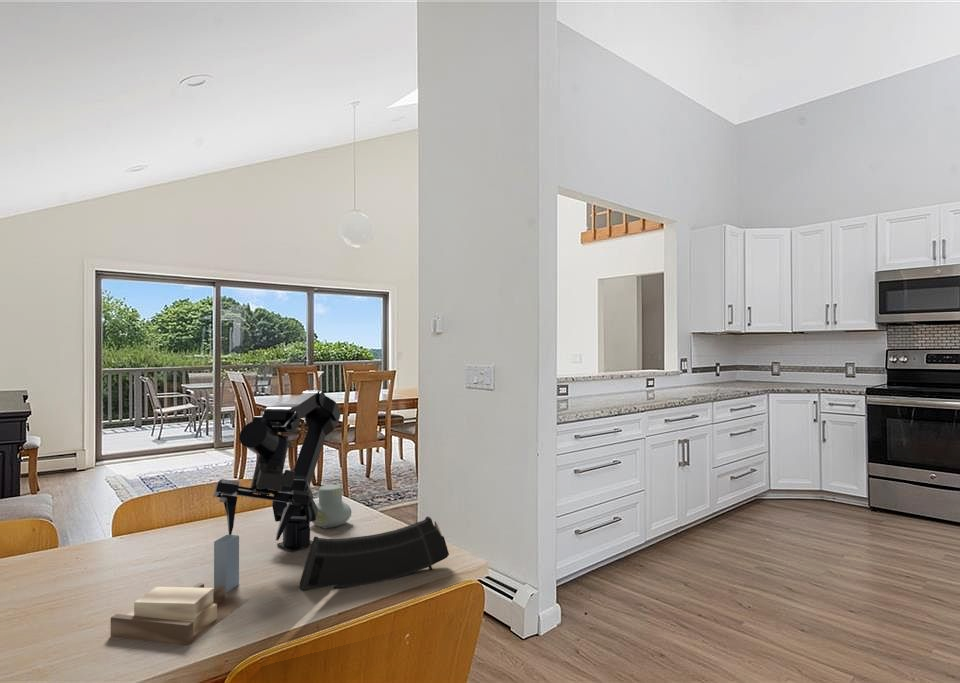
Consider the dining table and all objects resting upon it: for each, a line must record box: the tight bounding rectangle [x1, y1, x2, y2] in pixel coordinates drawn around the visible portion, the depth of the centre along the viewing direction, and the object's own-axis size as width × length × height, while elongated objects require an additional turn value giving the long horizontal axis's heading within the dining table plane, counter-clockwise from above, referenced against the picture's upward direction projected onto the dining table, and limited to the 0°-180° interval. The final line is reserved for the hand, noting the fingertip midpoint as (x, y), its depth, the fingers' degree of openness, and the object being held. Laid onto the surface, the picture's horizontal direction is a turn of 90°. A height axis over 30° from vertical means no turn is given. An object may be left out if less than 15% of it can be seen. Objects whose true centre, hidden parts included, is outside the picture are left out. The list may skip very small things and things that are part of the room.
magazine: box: [299, 516, 450, 591], centre depth 117 cm, size 17×3×30 cm
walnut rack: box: [110, 582, 250, 646], centre depth 99 cm, size 16×14×4 cm
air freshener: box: [311, 484, 353, 529], centre depth 152 cm, size 11×8×10 cm
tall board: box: [213, 534, 240, 594], centre depth 110 cm, size 4×3×10 cm, turn 170°
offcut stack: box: [126, 586, 217, 636], centre depth 96 cm, size 7×12×5 cm, turn 79°
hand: (253, 537), depth 116 cm, fingers open, 9 cm apart
